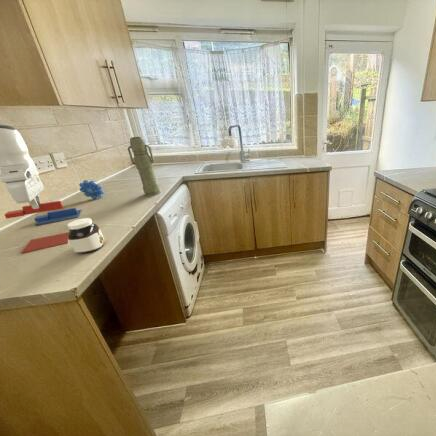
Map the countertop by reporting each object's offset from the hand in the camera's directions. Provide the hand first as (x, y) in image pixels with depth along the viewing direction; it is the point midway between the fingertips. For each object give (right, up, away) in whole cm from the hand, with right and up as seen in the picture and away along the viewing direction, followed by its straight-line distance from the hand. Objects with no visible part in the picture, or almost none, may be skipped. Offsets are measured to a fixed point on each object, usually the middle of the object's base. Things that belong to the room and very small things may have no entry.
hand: (37, 207), depth 94 cm
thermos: (+11, +10, +60) cm, 62 cm away
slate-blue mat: (-19, -4, +29) cm, 35 cm away
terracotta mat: (+1, -14, +6) cm, 15 cm away
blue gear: (-23, +7, +55) cm, 60 cm away
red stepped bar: (0, -2, +1) cm, 2 cm away
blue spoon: (-19, -3, +29) cm, 35 cm away
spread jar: (+20, -16, -1) cm, 26 cm away
